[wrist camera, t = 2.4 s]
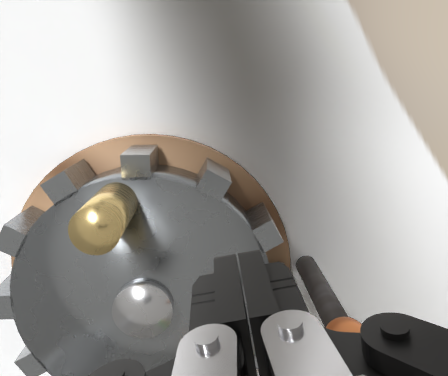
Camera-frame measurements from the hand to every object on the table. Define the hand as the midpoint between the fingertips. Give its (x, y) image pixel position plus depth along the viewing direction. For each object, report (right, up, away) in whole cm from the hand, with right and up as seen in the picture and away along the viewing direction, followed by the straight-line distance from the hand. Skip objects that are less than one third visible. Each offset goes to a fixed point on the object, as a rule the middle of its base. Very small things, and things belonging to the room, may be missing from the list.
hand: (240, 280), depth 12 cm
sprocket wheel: (-6, -4, +18) cm, 19 cm away
